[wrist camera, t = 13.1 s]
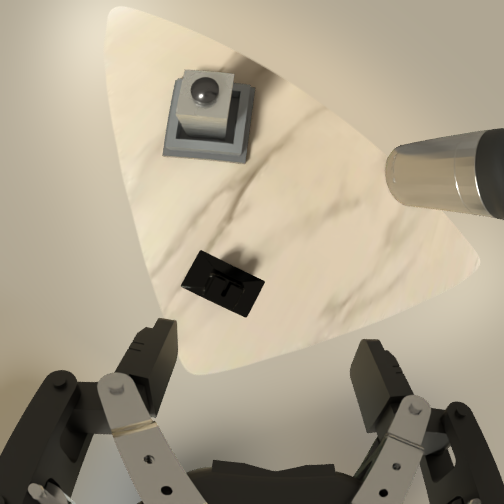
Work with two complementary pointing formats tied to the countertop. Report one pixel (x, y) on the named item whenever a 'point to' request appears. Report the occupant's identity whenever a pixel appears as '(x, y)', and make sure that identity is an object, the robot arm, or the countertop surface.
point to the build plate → (222, 284)
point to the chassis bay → (212, 148)
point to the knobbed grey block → (205, 103)
